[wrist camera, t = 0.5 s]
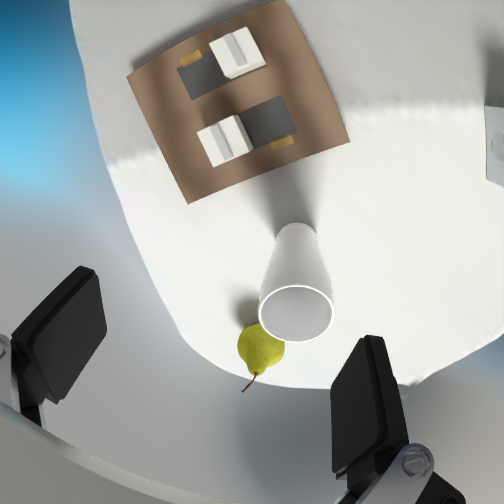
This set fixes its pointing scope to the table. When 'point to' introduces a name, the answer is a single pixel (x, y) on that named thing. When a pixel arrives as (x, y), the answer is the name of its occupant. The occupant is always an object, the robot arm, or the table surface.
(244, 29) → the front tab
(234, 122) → the tab
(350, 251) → the table surface
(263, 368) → the fruit
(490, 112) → the skincare box
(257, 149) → the switch board
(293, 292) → the drinking glass
